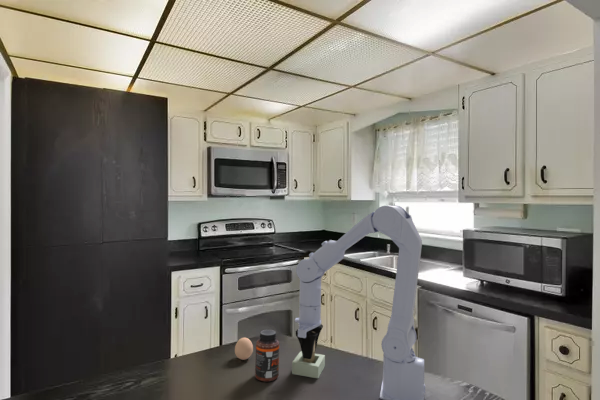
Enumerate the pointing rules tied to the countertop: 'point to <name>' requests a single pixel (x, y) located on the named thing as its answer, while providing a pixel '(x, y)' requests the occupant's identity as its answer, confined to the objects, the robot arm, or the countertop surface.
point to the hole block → (308, 366)
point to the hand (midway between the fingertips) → (309, 355)
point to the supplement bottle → (267, 356)
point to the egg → (243, 348)
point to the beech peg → (312, 355)
